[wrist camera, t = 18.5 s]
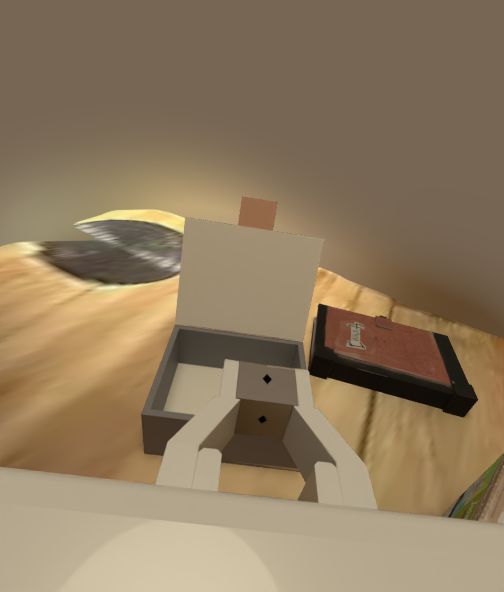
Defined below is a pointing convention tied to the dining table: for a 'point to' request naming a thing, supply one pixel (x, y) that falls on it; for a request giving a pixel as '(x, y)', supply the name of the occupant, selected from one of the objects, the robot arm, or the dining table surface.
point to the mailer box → (212, 389)
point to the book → (389, 359)
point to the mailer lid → (247, 275)
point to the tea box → (482, 497)
